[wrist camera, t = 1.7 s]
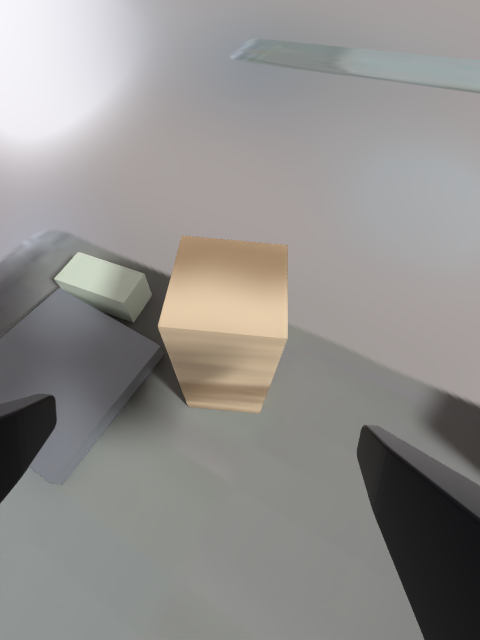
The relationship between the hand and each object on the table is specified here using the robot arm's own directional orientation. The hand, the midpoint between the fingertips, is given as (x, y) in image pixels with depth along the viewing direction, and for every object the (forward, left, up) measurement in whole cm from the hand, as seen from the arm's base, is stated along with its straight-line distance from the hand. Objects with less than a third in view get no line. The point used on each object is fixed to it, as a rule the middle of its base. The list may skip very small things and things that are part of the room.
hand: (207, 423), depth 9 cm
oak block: (+6, +3, -12) cm, 13 cm away
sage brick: (+7, +15, -12) cm, 20 cm away
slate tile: (0, +13, -12) cm, 17 cm away
